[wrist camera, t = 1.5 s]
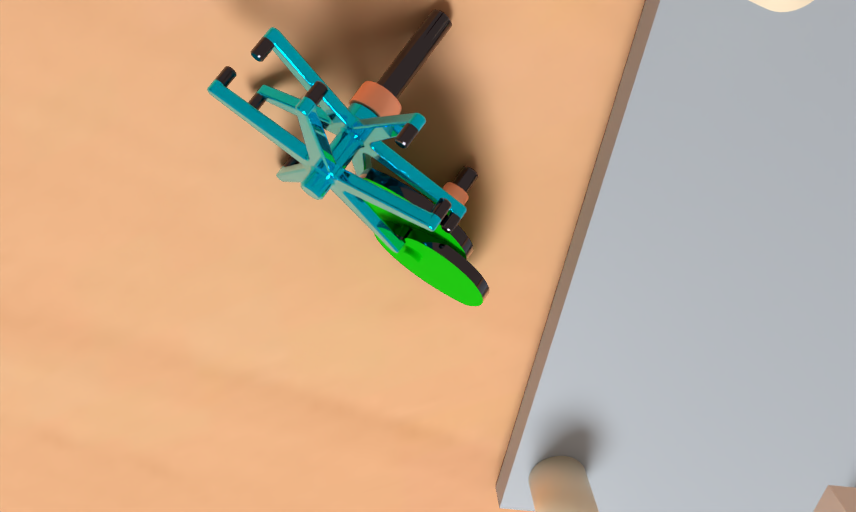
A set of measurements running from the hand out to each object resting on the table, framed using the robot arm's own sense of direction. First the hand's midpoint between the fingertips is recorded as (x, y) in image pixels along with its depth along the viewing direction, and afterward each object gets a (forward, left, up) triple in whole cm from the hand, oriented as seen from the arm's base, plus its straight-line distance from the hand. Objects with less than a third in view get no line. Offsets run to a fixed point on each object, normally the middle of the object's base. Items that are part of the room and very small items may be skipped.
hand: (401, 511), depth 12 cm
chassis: (+16, -3, -17) cm, 24 cm away
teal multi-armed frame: (+1, 0, -17) cm, 17 cm away
